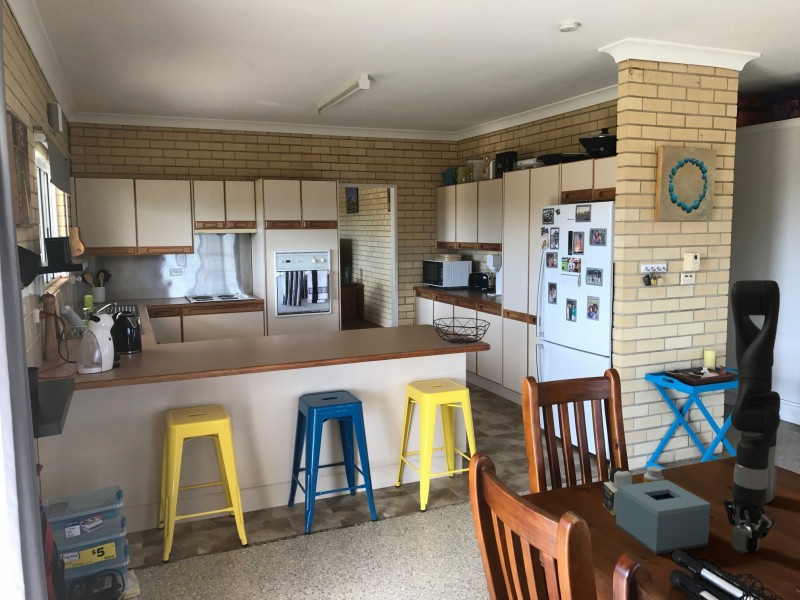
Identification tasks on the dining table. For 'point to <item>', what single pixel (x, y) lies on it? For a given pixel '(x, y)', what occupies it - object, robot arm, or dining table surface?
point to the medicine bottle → (615, 487)
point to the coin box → (663, 516)
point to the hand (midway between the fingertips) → (745, 547)
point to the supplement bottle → (653, 474)
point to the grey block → (741, 539)
